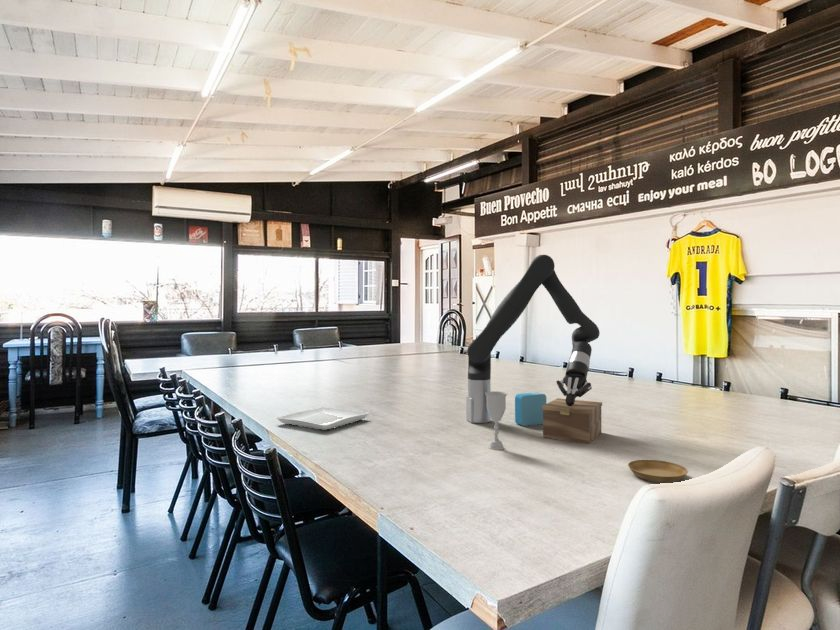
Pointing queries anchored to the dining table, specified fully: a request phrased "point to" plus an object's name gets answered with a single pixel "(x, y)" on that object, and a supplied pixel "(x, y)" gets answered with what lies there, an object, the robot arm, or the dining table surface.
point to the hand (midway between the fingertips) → (569, 404)
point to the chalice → (496, 414)
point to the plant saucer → (657, 470)
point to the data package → (529, 408)
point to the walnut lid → (578, 406)
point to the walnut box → (572, 426)
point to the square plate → (347, 414)
